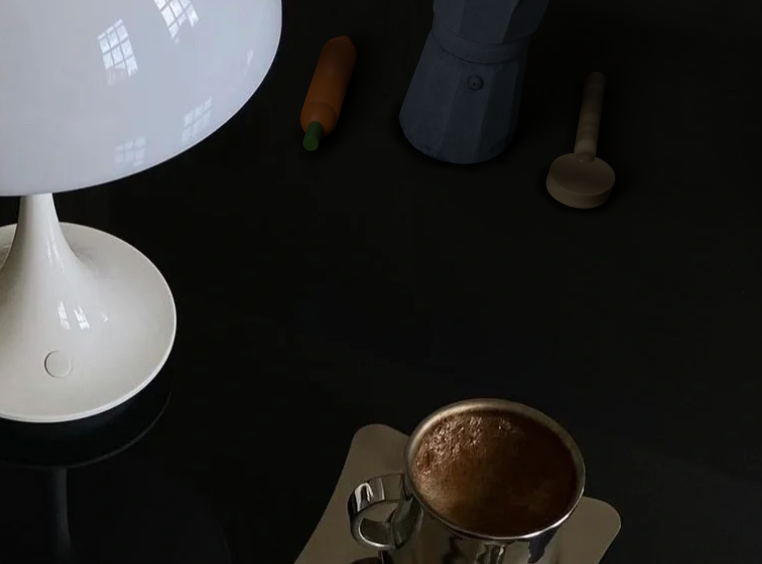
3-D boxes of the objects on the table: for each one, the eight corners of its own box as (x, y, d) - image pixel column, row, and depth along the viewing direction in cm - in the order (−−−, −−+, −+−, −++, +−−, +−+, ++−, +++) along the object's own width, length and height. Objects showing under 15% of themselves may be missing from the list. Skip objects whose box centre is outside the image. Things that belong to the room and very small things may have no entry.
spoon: (562, 81, 105) (568, 62, 104) (623, 91, 105) (629, 73, 104) (542, 201, 98) (548, 183, 96) (607, 214, 97) (614, 195, 96)
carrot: (326, 46, 107) (330, 13, 105) (360, 52, 107) (365, 19, 104) (290, 157, 100) (294, 123, 97) (326, 163, 99) (331, 130, 97)
